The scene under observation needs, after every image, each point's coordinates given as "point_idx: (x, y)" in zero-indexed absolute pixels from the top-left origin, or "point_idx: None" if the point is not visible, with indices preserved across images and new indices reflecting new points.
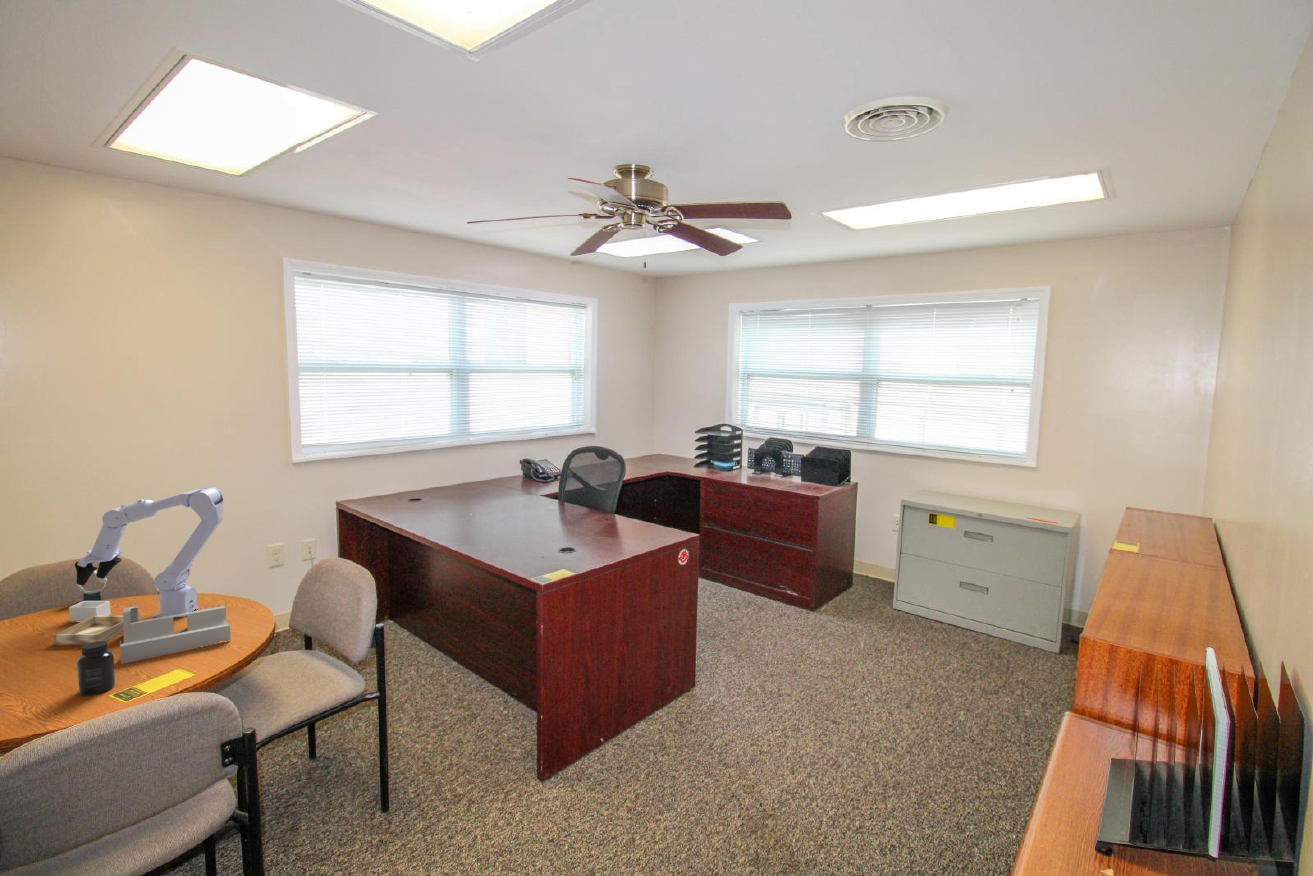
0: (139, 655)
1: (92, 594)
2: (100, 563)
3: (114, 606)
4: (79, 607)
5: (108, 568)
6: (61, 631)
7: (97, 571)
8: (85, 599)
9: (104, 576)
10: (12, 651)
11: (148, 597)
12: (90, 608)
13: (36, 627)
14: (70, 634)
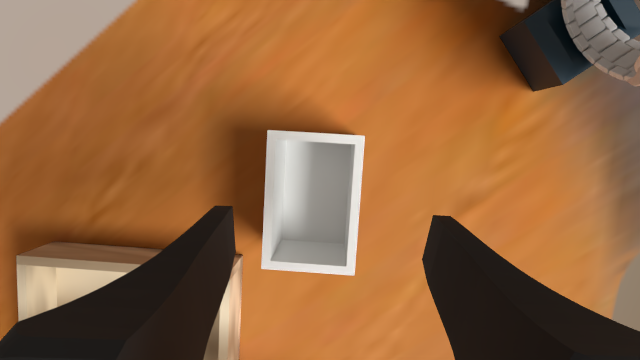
0: None
1: (555, 47)
2: (501, 303)
3: (469, 190)
4: (265, 184)
5: (461, 357)
6: (52, 260)
7: (451, 240)
8: (518, 33)
9: (428, 284)
10: (3, 128)
11: (580, 269)
12: (263, 238)
13: (231, 28)
14: (24, 317)
